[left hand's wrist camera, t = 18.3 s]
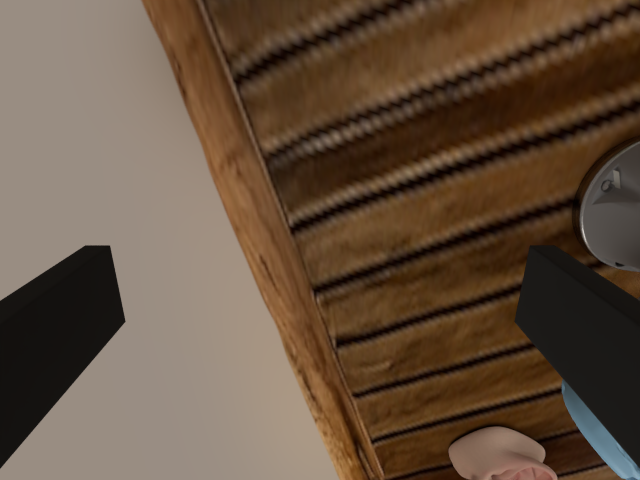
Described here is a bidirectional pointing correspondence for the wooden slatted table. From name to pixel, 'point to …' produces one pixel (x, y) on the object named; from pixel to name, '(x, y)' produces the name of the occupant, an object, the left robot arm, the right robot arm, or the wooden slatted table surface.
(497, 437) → the anatomical model
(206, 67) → the wooden slatted table surface
